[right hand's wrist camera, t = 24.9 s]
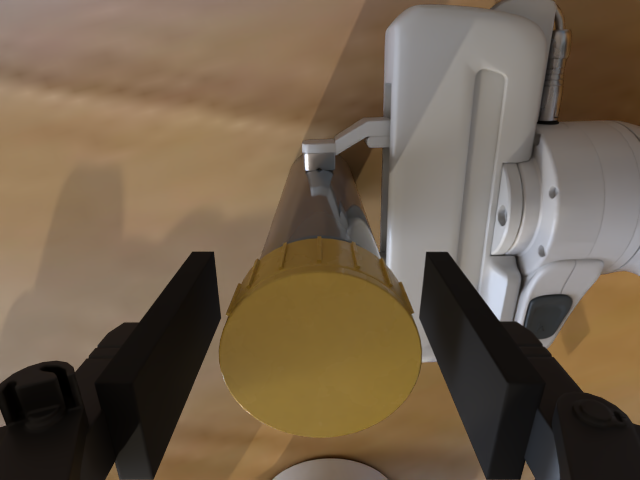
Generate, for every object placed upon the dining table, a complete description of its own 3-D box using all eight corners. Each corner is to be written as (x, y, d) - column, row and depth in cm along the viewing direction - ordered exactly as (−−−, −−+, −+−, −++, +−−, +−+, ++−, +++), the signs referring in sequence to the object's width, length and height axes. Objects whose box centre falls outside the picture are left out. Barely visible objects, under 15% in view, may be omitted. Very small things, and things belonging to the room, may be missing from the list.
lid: (306, 409, 14) (303, 467, 12) (196, 302, 12) (171, 347, 10) (440, 329, 13) (463, 378, 11) (336, 198, 11) (341, 225, 9)
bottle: (293, 216, 30) (254, 408, 12) (283, 153, 28) (222, 273, 11) (355, 208, 30) (406, 394, 12) (349, 145, 28) (398, 254, 10)
